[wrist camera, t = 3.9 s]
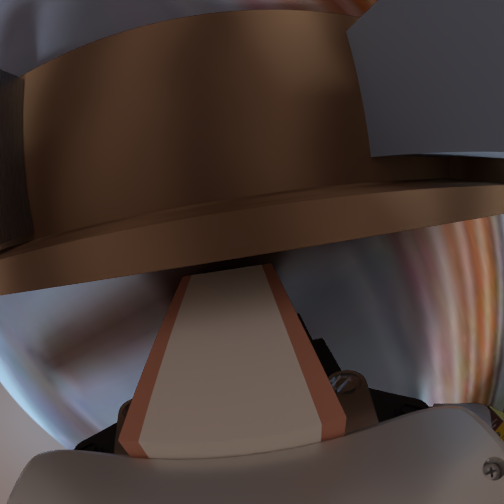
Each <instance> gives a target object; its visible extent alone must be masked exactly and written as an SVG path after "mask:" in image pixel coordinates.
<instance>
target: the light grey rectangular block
mask: <svg viewBox="0 0 504 504" xmlns="http://www.w3.org/2000/svg"><path fill="white" fill-rule="evenodd" d="M346 34H347V37H348V41H349V44H350V48H351V52H352V56H353V60H354V64H355V68H356V72H357V77H358V81H359V86H360V91H361V96H362V101H363V107H364V112H365V118H366V124H367V131H368V137H369V145H370V153H371V157H487V158H504V0H378V1H377V2H376V3H375V4H374V5H373V6H372V7H371V8H370V9H369V10H368V11H366V12H365V13H364V14H363V15H362V16H361V17H360V18H359V19H358V20H357V21H356V22H355V23H354V24H353V25H352V26H351V27H350V28H349V29H348V30H347V31H346Z"/></svg>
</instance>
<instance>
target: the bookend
mask: <svg viewBox="0 0 504 504" xmlns="http://www.w3.org/2000/svg"><path fill="white" fill-rule="evenodd" d="M23 90H24V79H22V78H20V77H17V76H15V75H13V74H10V73H8V72H5V71H3V70H0V244H2V243H5V242H7V241H10V240H13V239H15V238H18V237H20V236H23V235H26V234H28V233H31V232H34V228H33V223H32V218H31V212H30V206H29V200H28V193H27V185H26V177H25V166H24V153H23V125H22V118H23Z"/></svg>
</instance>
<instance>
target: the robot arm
mask: <svg viewBox="0 0 504 504" xmlns="http://www.w3.org/2000/svg"><path fill="white" fill-rule="evenodd" d="M297 316H298V318H299V320H300V322H301V324H302V326H303V328H304V330H305V332H306V334H307V336H308V338H309V340H310V342H311V344H312V346H313V348H314V350H315V352H316V355H317V357H318V359H319V361H320V363H321V365H322V367H323V369H324V371H325V373H326V375H327V377H328V379H329V381H330V383H331V386H332V388H333V390H334V392H335V394H336V396H337V398H338V400H339V402H340V404H341V406H342V409H343V411H344V413H345V415H346V417H347V418H346V426H345V433H344V435H343V436H339V437H336V438H332V439H328V440H324V441H321V442H319V443H314V444H310V445H305V446H300V447H295V448H290V449H285V450H279V451H273V452H267V453H260V454H252V455H244V456H234V457H222V458H205V459H151V458H142V457H130V456H129V454H128V453H127V452H126V450H125V449H124V448H123V446H122V445H121V444H120V442H119V441H118V439H119V436H120V433H121V430H122V427H123V424H124V421H125V418H126V415H127V413H128V410H129V407H130V404H131V402H132V399H131V400H129V401H127V402H125V403H124V404H123V405H122V406H121V408H120V410H119V413H118V421H117V423H115V424H113V425H112V426H110V427H108V428H106V429H104V430H102V431H101V432H99V433H97V434H95V435H93V436H91V437H89V438H88V439H86V440H84V441H82V442H80V443H79V444H78V445H77V446H76V447H75V449H74V450H55V451H48V452H44V453H41V454H38V455H36V456H34V457H33V458H32V459H31V460H30V461H29V462H28V464H27V465H26V466H25V468H24V469H23V471H22V473H21V474H20V476H19V478H18V480H17V481H16V483H15V486H14V488H13V490H12V492H11V494H10V497H9V499H8V501H7V504H504V442H503V440H502V439H501V438H500V437H499V436H498V435H497V434H496V432H495V431H494V430H493V429H492V424H491V415H490V411H489V409H488V408H487V407H486V406H485V405H483V404H480V403H460V404H434V405H433V407H428V405H427V404H426V403H425V402H423V401H422V400H419V399H416V398H411V397H406V396H401V395H396V394H392V393H387V392H383V391H379V390H375V389H371V388H368V385H367V382H366V380H365V378H364V376H363V375H361V374H360V373H358V372H355V371H350V370H343V371H341V369H340V367H339V366H338V364H337V362H336V360H335V359H334V357H333V355H332V353H331V352H330V350H329V348H328V346H327V345H326V343H325V341H324V340H323V338H320V339H315V340H312V338H311V336H310V334H309V332H308V330H307V328H306V326H305V324H304V322H303V320H302V318H301V316H300V314H299V313H298V314H297Z"/></svg>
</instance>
